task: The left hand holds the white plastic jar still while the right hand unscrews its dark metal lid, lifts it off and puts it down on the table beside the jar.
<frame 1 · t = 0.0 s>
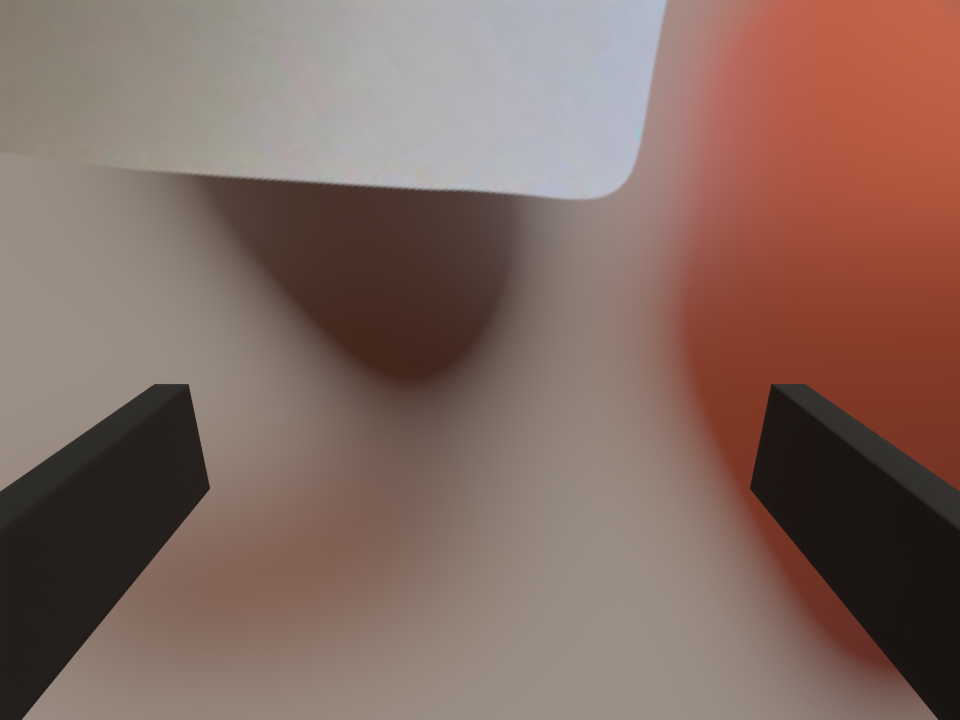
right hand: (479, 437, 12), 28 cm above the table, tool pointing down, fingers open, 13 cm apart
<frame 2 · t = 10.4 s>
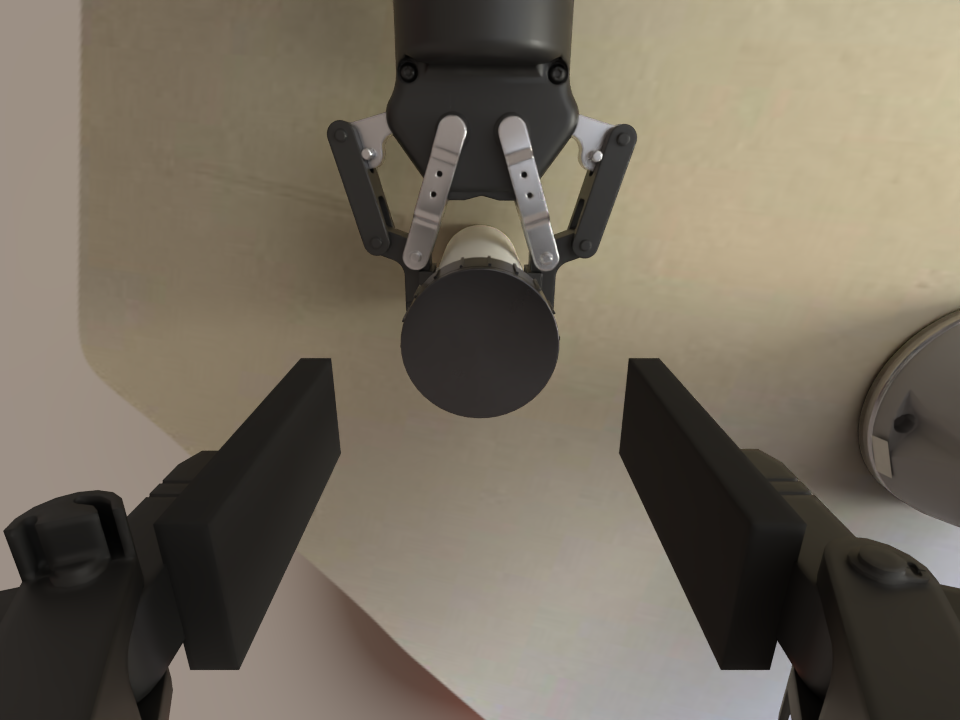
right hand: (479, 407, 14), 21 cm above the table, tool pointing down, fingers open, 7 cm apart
left hand: (480, 337, 28), fingers closed on jar, 4 cm apart
lid: (480, 343, 19), point 15 cm above the table, screwed on, not yet turned
jar: (480, 262, 33), on the table, touching left hand
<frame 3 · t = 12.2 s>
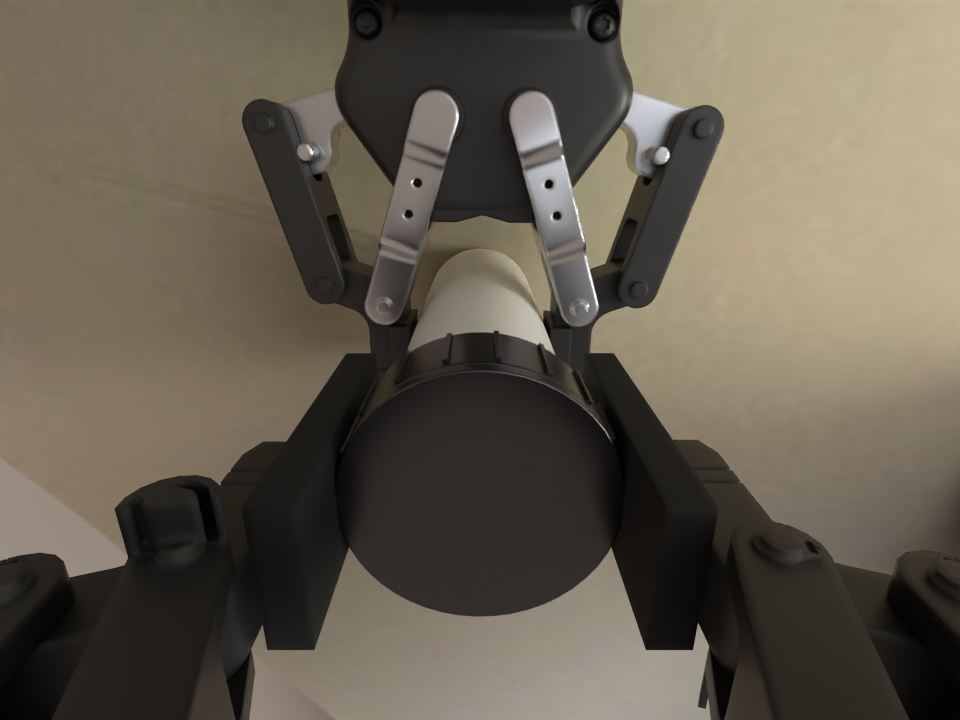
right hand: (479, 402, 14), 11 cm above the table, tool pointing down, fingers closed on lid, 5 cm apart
left hand: (480, 414, 20), fingers closed on jar, 4 cm apart
lid: (480, 494, 10), point 15 cm above the table, screwed on, not yet turned, touching right hand
jar: (480, 298, 25), on the table, touching left hand
when the right hand's fingers open (11 cm above the table, at t = 13.4 s): lid stays where it is, point 16 cm above the table.
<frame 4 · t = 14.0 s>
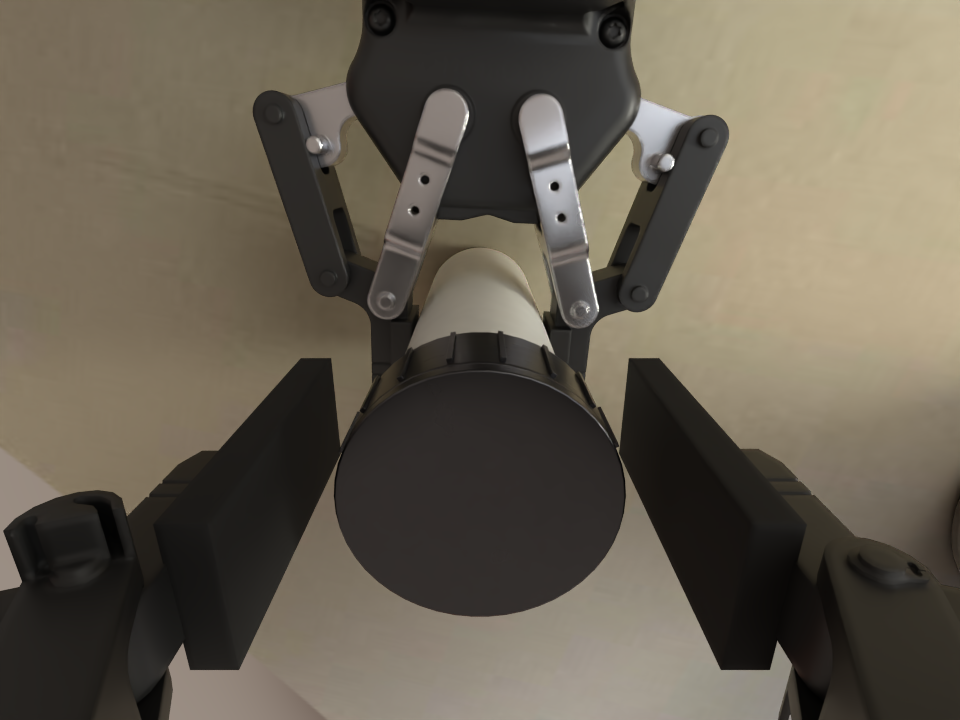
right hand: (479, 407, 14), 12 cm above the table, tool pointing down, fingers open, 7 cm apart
left hand: (477, 412, 20), fingers closed on jar, 4 cm apart
lid: (479, 494, 10), point 16 cm above the table, turned 60° so far, risen 0.2 cm, still on its thread
jar: (480, 296, 25), on the table, touching left hand
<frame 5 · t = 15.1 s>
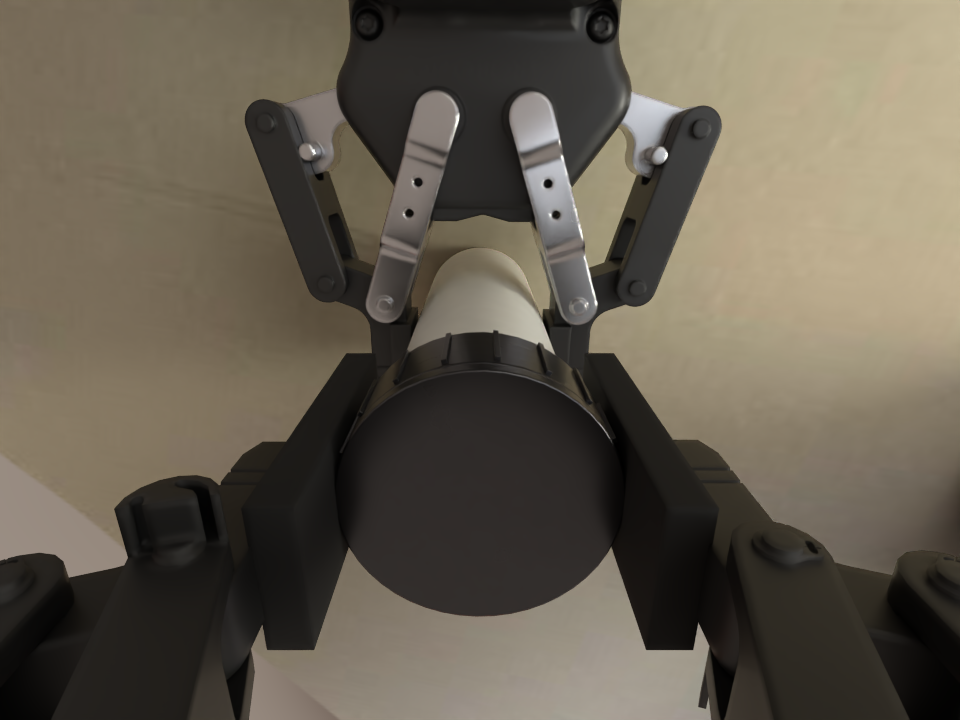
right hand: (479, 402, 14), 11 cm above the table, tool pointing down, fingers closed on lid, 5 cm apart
left hand: (480, 412, 20), fingers closed on jar, 4 cm apart
lid: (480, 494, 10), point 16 cm above the table, turned 60° so far, risen 0.2 cm, still on its thread, touching right hand
jar: (480, 296, 25), on the table, touching left hand
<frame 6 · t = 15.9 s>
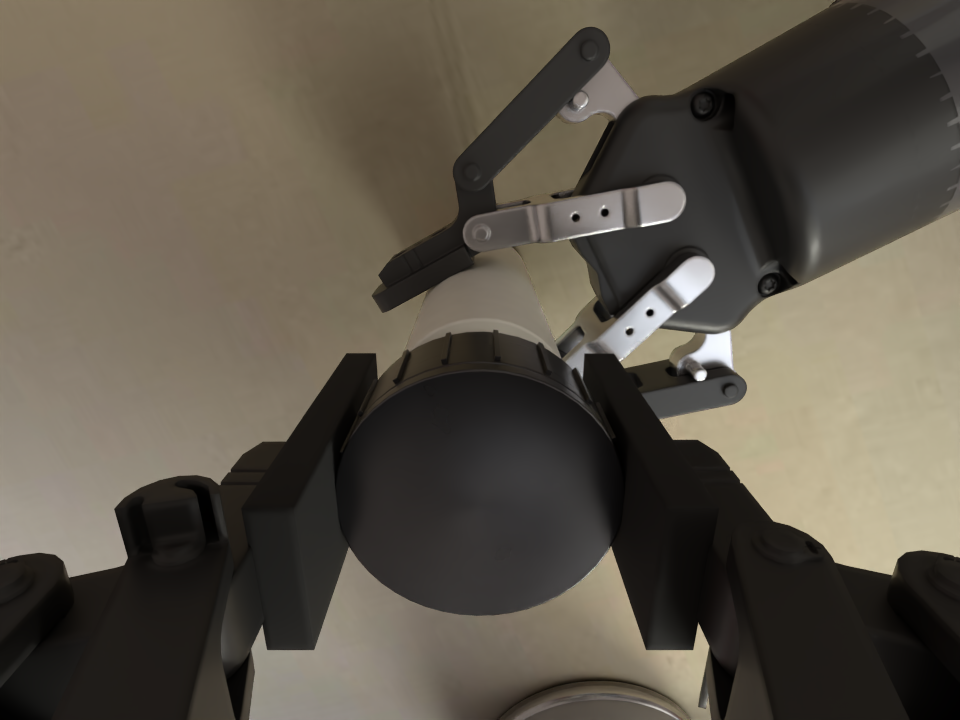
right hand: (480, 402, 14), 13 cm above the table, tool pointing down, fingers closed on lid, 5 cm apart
left hand: (419, 357, 20), fingers closed on jar, 4 cm apart
lid: (480, 493, 10), point 17 cm above the table, off its thread, touching right hand
jar: (481, 283, 26), on the table, touching left hand
when the right hand's fingers open (0 cm above the table, at t = 21.2 s): lid drops 2 cm, point 2 cm above the table.
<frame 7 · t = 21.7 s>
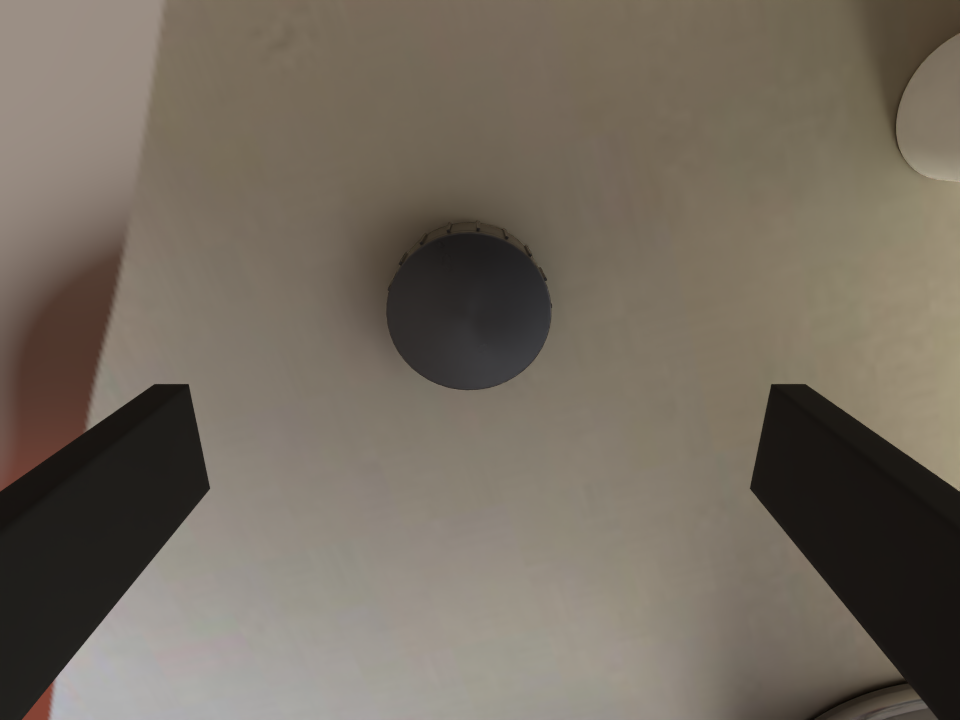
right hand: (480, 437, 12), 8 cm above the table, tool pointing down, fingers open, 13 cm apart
lid: (469, 312, 18), point 2 cm above the table, off its thread
when the left hand's fingers open (7 cm above the table, at t = 21.8 s): jar stays where it is, on the table.
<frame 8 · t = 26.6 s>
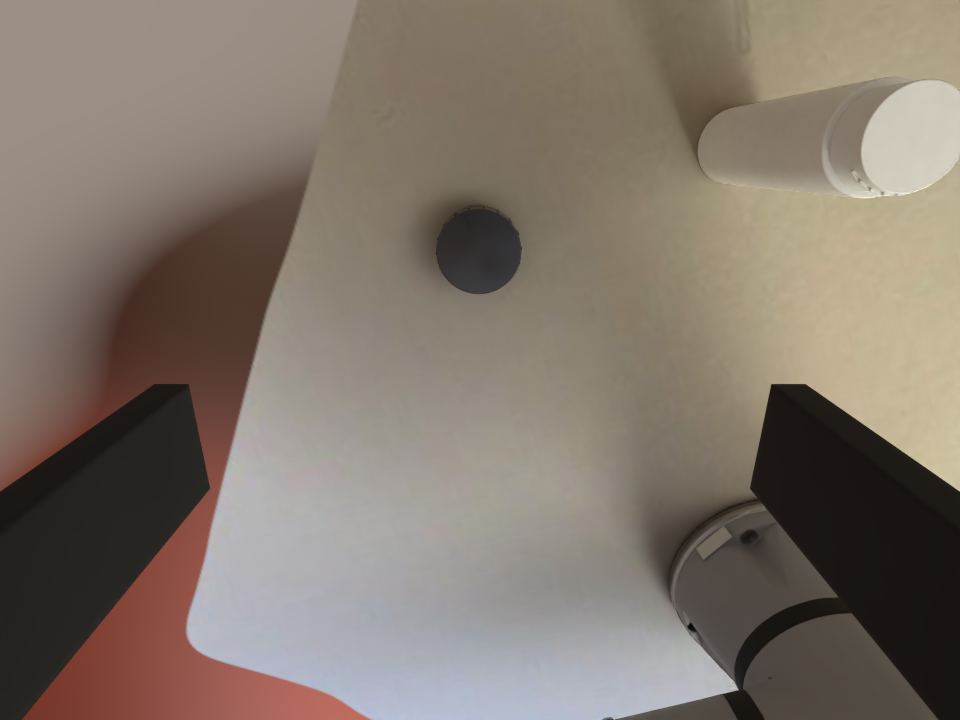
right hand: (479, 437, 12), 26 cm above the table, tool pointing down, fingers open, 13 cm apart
lid: (478, 251, 35), point 2 cm above the table, off its thread
jar: (733, 146, 34), on the table
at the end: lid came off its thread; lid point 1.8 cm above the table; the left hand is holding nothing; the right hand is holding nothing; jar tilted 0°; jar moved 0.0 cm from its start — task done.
